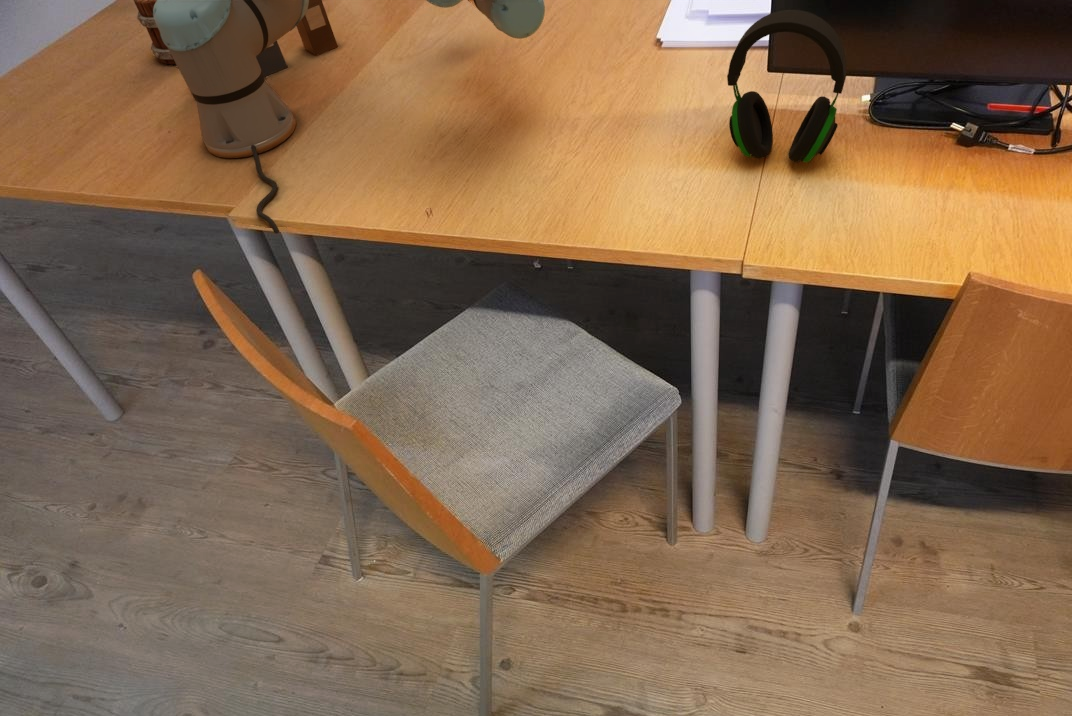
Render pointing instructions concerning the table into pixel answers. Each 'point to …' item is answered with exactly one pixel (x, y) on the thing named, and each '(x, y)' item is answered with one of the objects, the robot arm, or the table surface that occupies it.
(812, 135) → the headphones
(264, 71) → the line block
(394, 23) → the table surface
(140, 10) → the mug
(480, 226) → the table surface
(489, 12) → the robot arm
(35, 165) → the table surface
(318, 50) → the line block
